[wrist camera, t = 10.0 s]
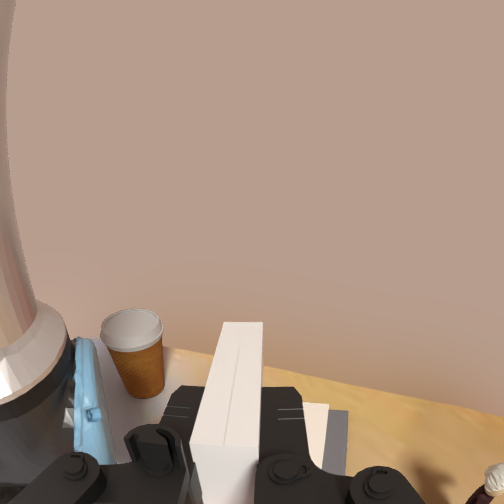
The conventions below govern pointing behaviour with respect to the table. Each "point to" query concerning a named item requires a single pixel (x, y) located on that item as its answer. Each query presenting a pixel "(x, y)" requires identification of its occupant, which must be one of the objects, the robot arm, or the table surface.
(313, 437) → the tile
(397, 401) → the table surface
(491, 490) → the grandmother figurine
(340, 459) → the mat
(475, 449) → the table surface
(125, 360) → the disposable coffee cup
